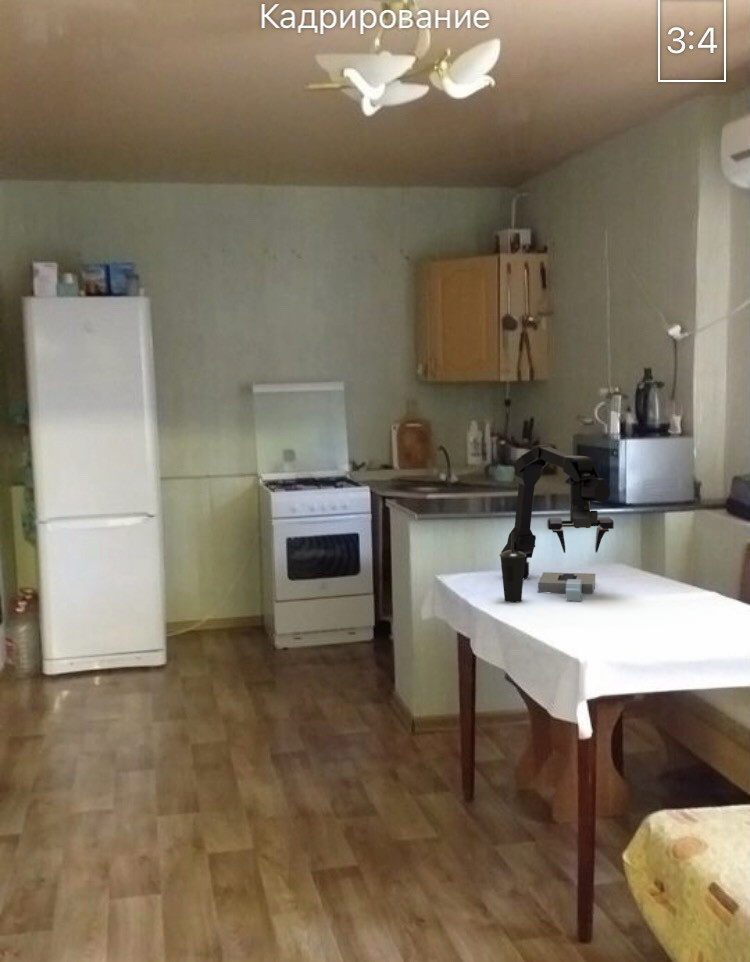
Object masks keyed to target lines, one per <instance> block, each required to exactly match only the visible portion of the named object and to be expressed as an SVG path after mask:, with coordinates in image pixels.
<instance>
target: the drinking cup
mask: <svg viewBox="0 0 750 962" xmlns="http://www.w3.org/2000/svg"><path fill="white" fill-rule="evenodd" d="M510 532H511V531H510ZM511 545H512V550H508V551H505V552H503V553H501V552H500V553H499V558H500V566H501V574H502V575H501V577H502V586H503V587H502V588H503V595H504V601H505V602H507V603H520V602H522V598H523V587H524V579H523V576H524V564H525V557H526V554H525V553H523V552H521V551H518V550H514V532H511Z"/></svg>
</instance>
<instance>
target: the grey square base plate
mask: <svg viewBox="0 0 750 962" xmlns="http://www.w3.org/2000/svg"><path fill="white" fill-rule="evenodd" d="M568 579H579V580H582V595H593V594H594V590H595V585H596V573H583V572H581V573H579V572H549V571H547V572H546V571H544V572H542V574H541V576H540V578H539V580H538V583H537V593H541V592H552V593H551V594H566V583H567V580H568Z"/></svg>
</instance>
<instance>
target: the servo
mask: <svg viewBox="0 0 750 962" xmlns="http://www.w3.org/2000/svg"><path fill="white" fill-rule="evenodd" d="M582 595H583V594H582V580H579V579H568V580H567V583H566V593H565V600H566V601H570V600H572V601H574V602H576V601H577V602H581V600H582V597H581V596H582Z"/></svg>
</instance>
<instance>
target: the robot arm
mask: <svg viewBox="0 0 750 962" xmlns="http://www.w3.org/2000/svg"><path fill="white" fill-rule="evenodd" d="M548 464H552V465H553V466H556V467H559V468H560V469H562V471H563V474H566V475H567V476H568V478H566V480H565V481H564V483H565V484H566V485H567V484H568V485H569V520H563V519H562V518H561V517H548V519H547V522H546V524H547V526H546V528H547V529H548V531H550V530H551V531H552V533H554V534H555V533H556V535H557V537H558V539H559V542H560V545H561V547H562V548H561V549H562V551H563V554H566V543H565V537H564V536H565V535H564V529H563V528H564V527H565V528H566V527H567V528H571V527H572V528H575V529H580V528H583V529H584V528H585V529H590V528H592V527H596V532H595V533H596V534H595V545H594V550H595V553H598V551H599V548H600V544H601V542H602V539H603V537H604V535H605V534H606V533H607V532H610V530H614V529H615V528H614V526H615V525H614V524H615V523H614V520H613V519H612V518H611V517H610V516H604V517H603V516H602V517H601V516H599V515H598V510H591V502H593V503H599V504H602V503H603V504H604V503H606V502H607V501H608V500H609V499H610V495H611V490H610V487H609V486H608V484H607V483H605V478H601V477H600V473H598V471H597V469H596V467H595V465H594V462H593V460H592V458H591V457H589V456H586V455H585V456H584V455H571V454H568V453H566V452H563V451H561V450H558V449H555V448H554V447H551V446H550V445H547V444H541V445H535V446H534V447H532V449H530V450H529V451H527V452H525V453H524V454H522V455H520V456H519V457H518V458H517V459H516V460H515V463H514V476H515V478H516V481H517V482H518V490H517V499H516V508H515V509H516V510H515V511H516V512H515V519H514V527H513V528H512V529H511V531H510V532H509V534H508V537H507V543H506V544H505V546H504V547H503V549H502V550H501V552H500V553H503V552H505V551H508V550H512V545H511V532H514V550H518V551H521V552H523V553H525V554H526V557H525V564H524V576H523V580H524V579H527V578H528V577H529V576H530V561H528V559H529V558H530V559H531V558H532V557H533V554H534V550H535V548H536V539H537V537H536V535H535V534H533V532H532V530H531V524H532V515H533V505H534V496H535V495H534V494H535V487H536V484H537V483H538V481H539V480H540V479H541V478H542V477H541V476H542V472H543V469H544V468H545V467H546V466H547V465H548Z"/></svg>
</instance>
